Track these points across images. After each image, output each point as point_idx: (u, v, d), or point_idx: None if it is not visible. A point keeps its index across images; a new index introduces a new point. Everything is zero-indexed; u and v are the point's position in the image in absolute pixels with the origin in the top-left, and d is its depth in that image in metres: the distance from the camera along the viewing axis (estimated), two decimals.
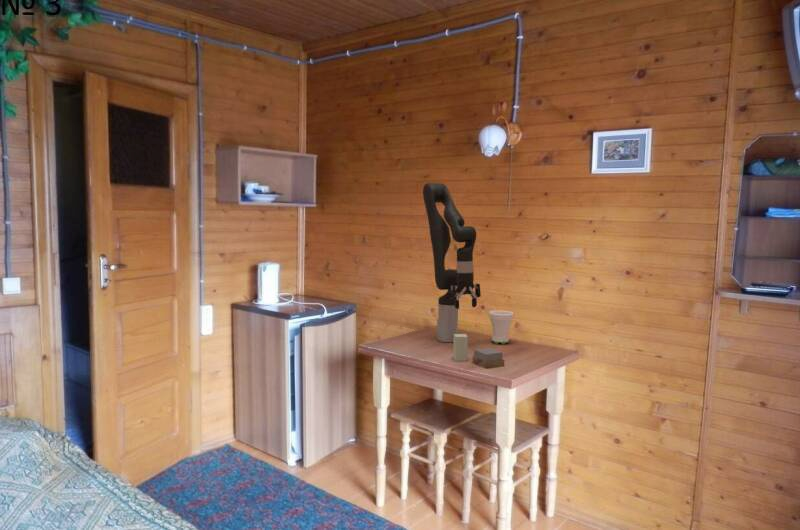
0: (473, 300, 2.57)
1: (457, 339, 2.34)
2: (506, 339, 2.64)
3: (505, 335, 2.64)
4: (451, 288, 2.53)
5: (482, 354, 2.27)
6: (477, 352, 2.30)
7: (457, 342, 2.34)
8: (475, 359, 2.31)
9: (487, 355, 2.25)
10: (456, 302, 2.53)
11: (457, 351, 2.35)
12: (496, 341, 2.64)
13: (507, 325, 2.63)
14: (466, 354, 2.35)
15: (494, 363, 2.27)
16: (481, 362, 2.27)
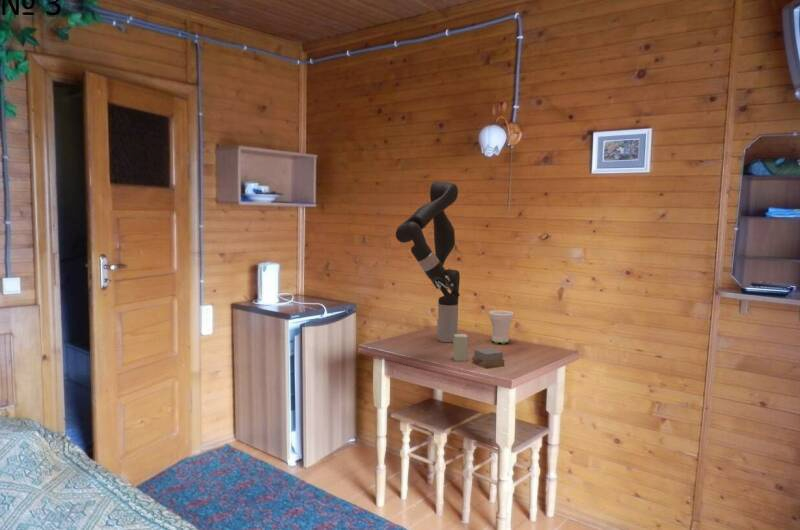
0: None
1: (457, 339, 2.34)
2: (506, 339, 2.64)
3: (505, 335, 2.64)
4: None
5: (482, 354, 2.27)
6: (477, 352, 2.30)
7: (457, 342, 2.34)
8: (475, 359, 2.31)
9: (487, 355, 2.26)
10: None
11: (457, 351, 2.35)
12: (496, 341, 2.64)
13: (507, 325, 2.63)
14: (466, 354, 2.35)
15: (494, 363, 2.27)
16: (481, 362, 2.27)
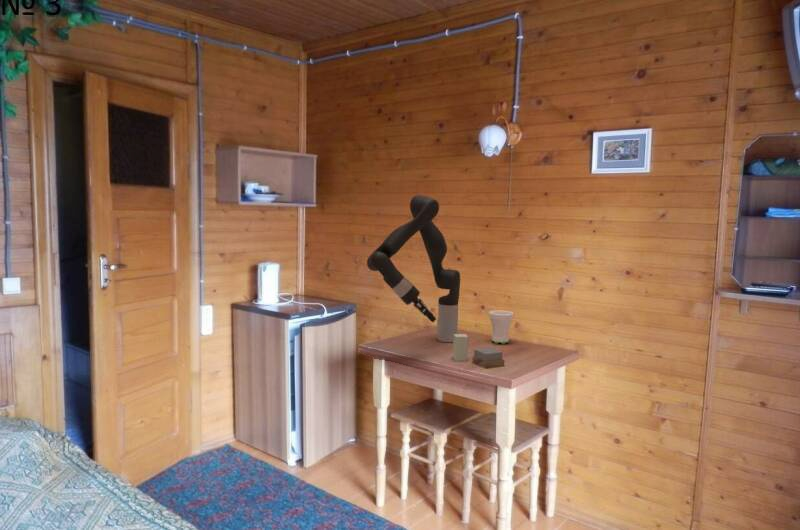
0: None
1: (457, 339, 2.34)
2: (506, 339, 2.64)
3: (505, 335, 2.64)
4: None
5: (482, 354, 2.27)
6: (477, 352, 2.30)
7: (457, 342, 2.34)
8: (475, 359, 2.31)
9: (487, 355, 2.26)
10: None
11: (457, 351, 2.35)
12: (496, 341, 2.64)
13: (507, 325, 2.63)
14: (466, 354, 2.35)
15: (494, 363, 2.27)
16: (481, 362, 2.27)
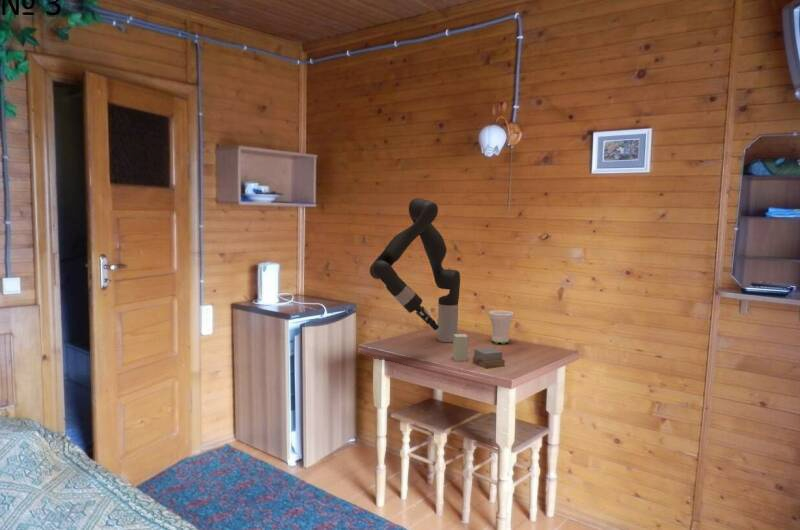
0: None
1: (457, 339, 2.34)
2: (506, 339, 2.64)
3: (505, 335, 2.64)
4: None
5: (481, 353, 2.28)
6: (477, 351, 2.31)
7: (457, 342, 2.34)
8: (475, 359, 2.31)
9: (486, 354, 2.26)
10: None
11: (457, 351, 2.35)
12: (496, 341, 2.64)
13: (507, 325, 2.63)
14: (466, 354, 2.35)
15: (494, 363, 2.27)
16: (482, 361, 2.27)
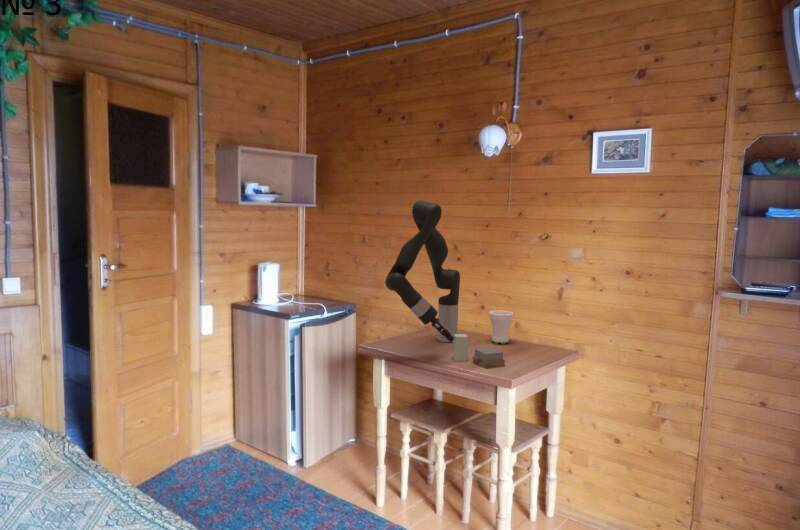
0: None
1: (457, 339, 2.34)
2: (506, 339, 2.64)
3: (505, 335, 2.64)
4: None
5: (482, 354, 2.27)
6: (477, 352, 2.30)
7: (457, 342, 2.34)
8: (475, 359, 2.31)
9: (487, 355, 2.25)
10: None
11: (457, 351, 2.35)
12: (496, 341, 2.64)
13: (507, 325, 2.63)
14: (466, 354, 2.35)
15: (494, 363, 2.27)
16: (482, 361, 2.27)
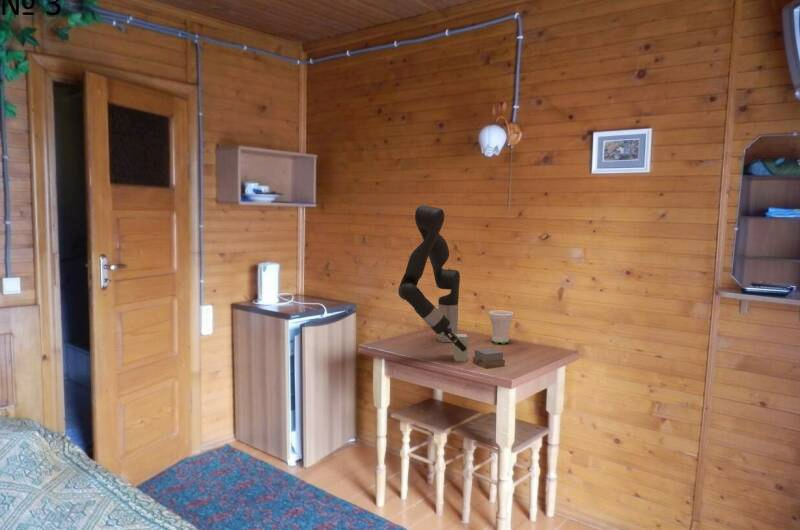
0: None
1: None
2: (506, 339, 2.64)
3: (505, 335, 2.64)
4: None
5: (482, 354, 2.27)
6: (477, 352, 2.30)
7: None
8: (475, 359, 2.31)
9: (487, 355, 2.25)
10: None
11: (457, 351, 2.35)
12: (496, 341, 2.64)
13: (507, 325, 2.63)
14: (466, 354, 2.35)
15: (494, 363, 2.26)
16: (482, 362, 2.27)
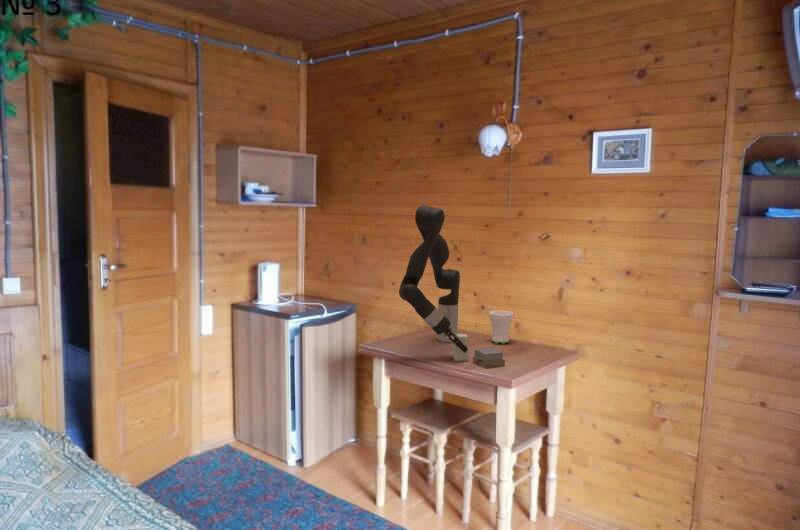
0: None
1: None
2: (506, 339, 2.64)
3: (505, 335, 2.64)
4: None
5: (481, 354, 2.27)
6: (477, 352, 2.30)
7: (457, 342, 2.34)
8: (475, 359, 2.31)
9: (486, 355, 2.25)
10: None
11: (457, 351, 2.35)
12: (496, 341, 2.64)
13: (507, 325, 2.63)
14: (466, 354, 2.35)
15: (494, 363, 2.26)
16: (482, 362, 2.27)
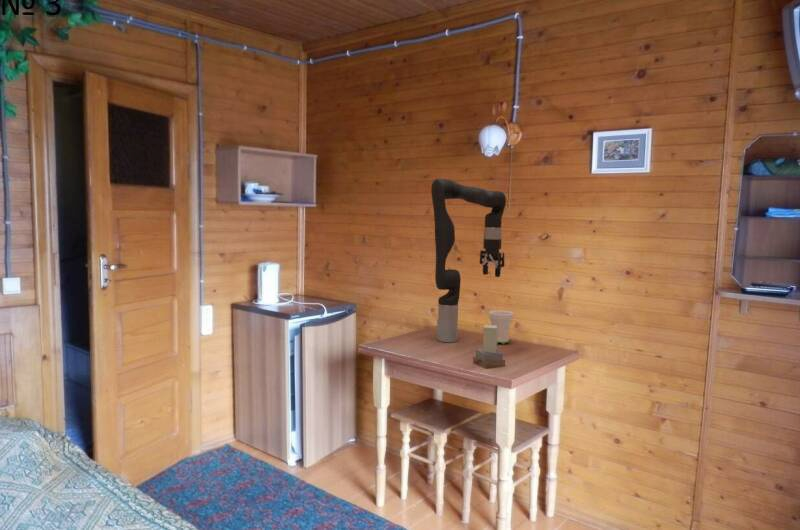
0: None
1: (485, 330, 2.27)
2: (506, 339, 2.64)
3: (505, 335, 2.64)
4: None
5: (481, 354, 2.28)
6: (478, 352, 2.31)
7: (485, 333, 2.27)
8: (476, 359, 2.31)
9: (485, 355, 2.26)
10: (483, 267, 2.52)
11: (485, 342, 2.28)
12: None
13: (507, 325, 2.63)
14: (494, 346, 2.27)
15: (495, 363, 2.27)
16: (482, 362, 2.27)
